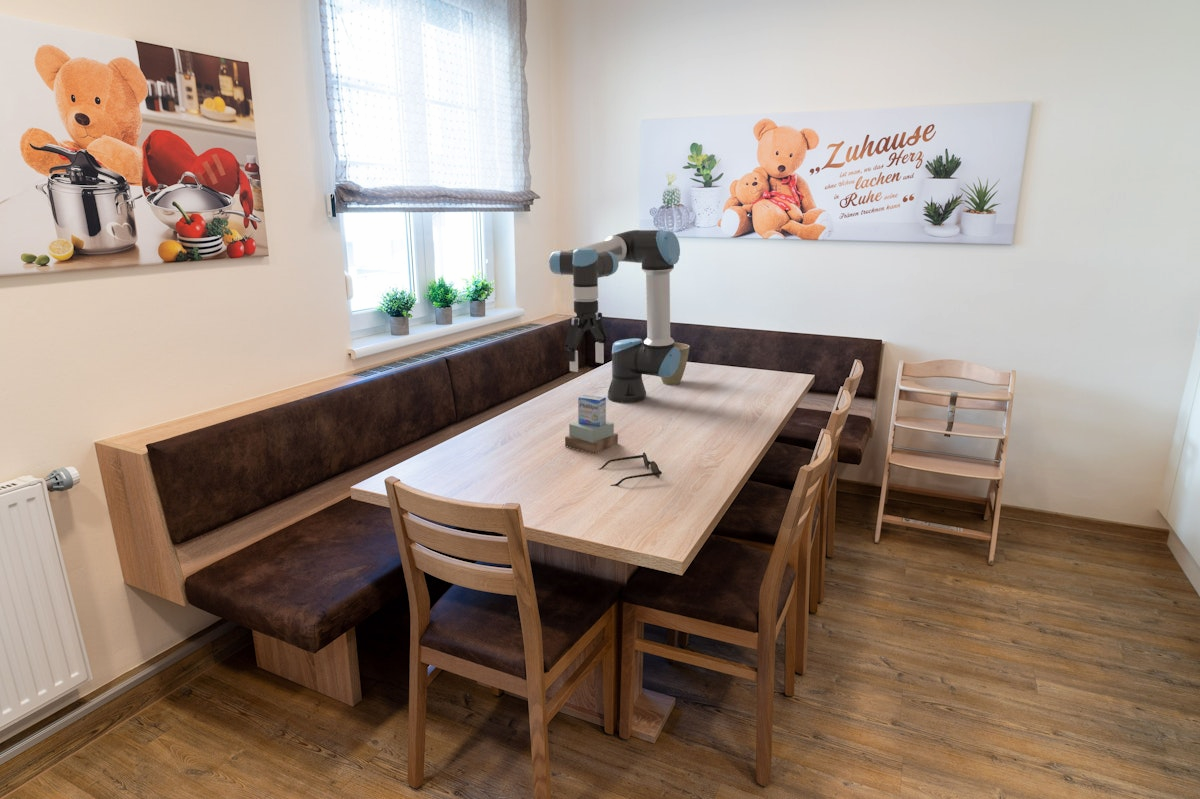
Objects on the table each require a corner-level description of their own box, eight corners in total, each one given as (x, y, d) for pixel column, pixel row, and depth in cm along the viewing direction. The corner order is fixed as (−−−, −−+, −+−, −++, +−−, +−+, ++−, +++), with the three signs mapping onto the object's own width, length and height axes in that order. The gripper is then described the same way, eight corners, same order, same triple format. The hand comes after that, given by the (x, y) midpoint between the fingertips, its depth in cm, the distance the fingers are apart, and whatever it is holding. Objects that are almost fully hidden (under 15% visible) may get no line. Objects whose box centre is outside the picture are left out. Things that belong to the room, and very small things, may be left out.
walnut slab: (588, 438, 238) (588, 427, 237) (617, 445, 232) (617, 433, 230) (565, 448, 229) (565, 436, 228) (595, 456, 222) (595, 444, 221)
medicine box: (577, 423, 228) (577, 397, 226) (584, 419, 232) (584, 393, 230) (600, 427, 225) (599, 400, 222) (606, 423, 229) (606, 396, 226)
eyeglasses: (661, 482, 201) (662, 465, 200) (611, 488, 197) (611, 471, 196) (643, 464, 215) (643, 448, 213) (596, 469, 211) (595, 453, 209)
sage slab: (590, 428, 236) (590, 416, 235) (613, 435, 230) (613, 423, 228) (569, 435, 229) (569, 424, 228) (592, 442, 222) (592, 430, 221)
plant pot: (664, 376, 315) (665, 341, 311) (694, 381, 307) (696, 345, 303) (646, 383, 304) (647, 346, 299) (677, 389, 295) (678, 351, 291)
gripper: (599, 293, 233) (600, 357, 239) (550, 304, 214) (552, 373, 220) (618, 295, 229) (619, 360, 235) (570, 306, 209) (572, 376, 215)
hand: (587, 366), depth 227 cm, fingers open, 13 cm apart
